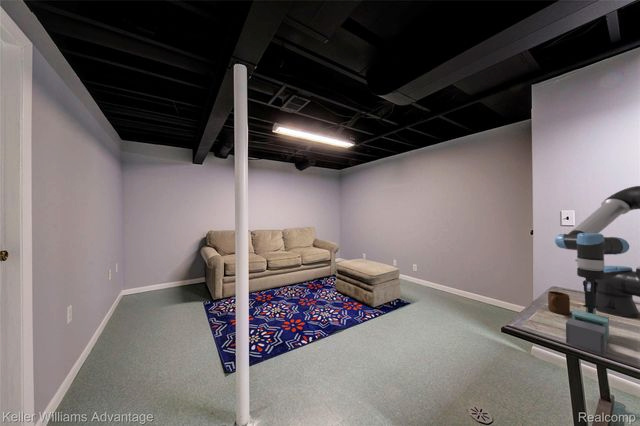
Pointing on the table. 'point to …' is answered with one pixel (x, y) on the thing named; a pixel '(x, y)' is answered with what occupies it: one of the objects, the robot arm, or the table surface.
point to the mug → (559, 302)
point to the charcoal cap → (586, 335)
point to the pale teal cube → (592, 319)
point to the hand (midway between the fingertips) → (590, 322)
